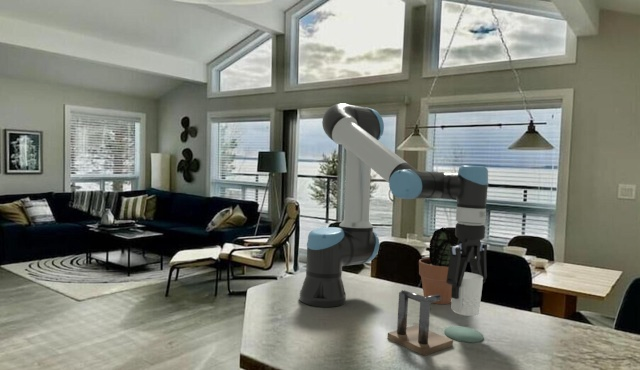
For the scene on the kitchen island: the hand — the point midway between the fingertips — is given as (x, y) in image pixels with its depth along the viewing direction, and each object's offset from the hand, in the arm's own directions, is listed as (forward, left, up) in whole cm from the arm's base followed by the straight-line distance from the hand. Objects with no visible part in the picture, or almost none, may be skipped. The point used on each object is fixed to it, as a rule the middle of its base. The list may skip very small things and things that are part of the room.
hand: (465, 307), depth 118 cm
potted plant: (-24, +20, -8) cm, 32 cm away
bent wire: (-4, -15, -6) cm, 16 cm away
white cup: (0, 0, -1) cm, 1 cm away
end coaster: (0, 0, -8) cm, 8 cm away
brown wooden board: (-3, -15, -8) cm, 17 cm away
